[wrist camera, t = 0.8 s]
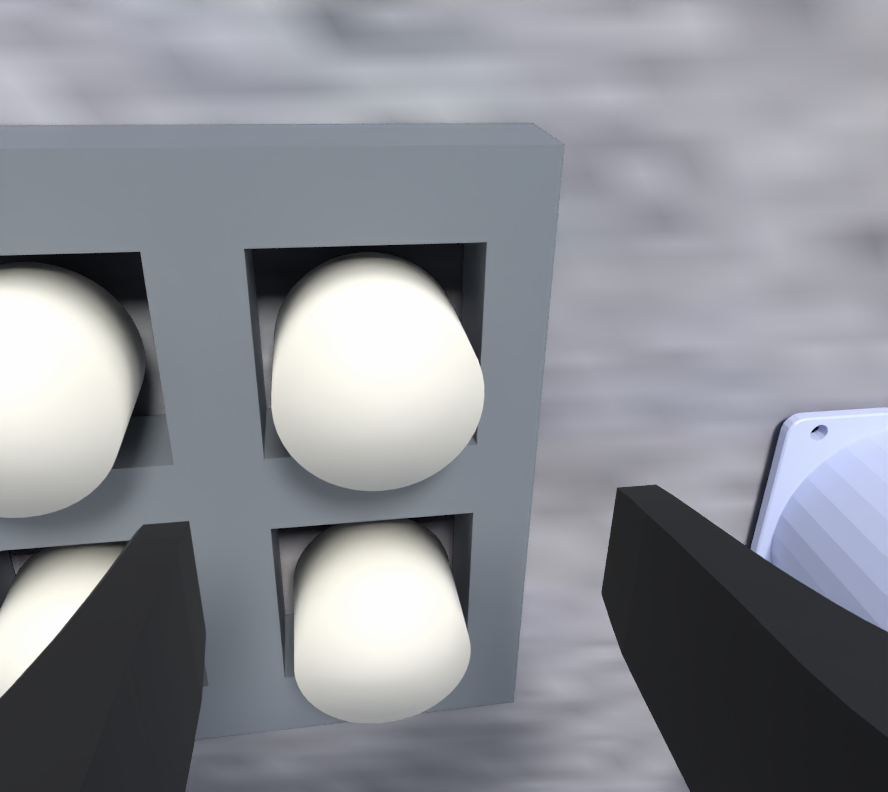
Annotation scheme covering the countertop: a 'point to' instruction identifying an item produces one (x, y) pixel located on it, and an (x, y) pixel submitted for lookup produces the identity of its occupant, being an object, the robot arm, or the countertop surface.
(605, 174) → the countertop surface
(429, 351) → the button
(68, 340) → the button
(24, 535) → the board
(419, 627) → the button
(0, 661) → the button
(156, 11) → the countertop surface
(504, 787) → the countertop surface
